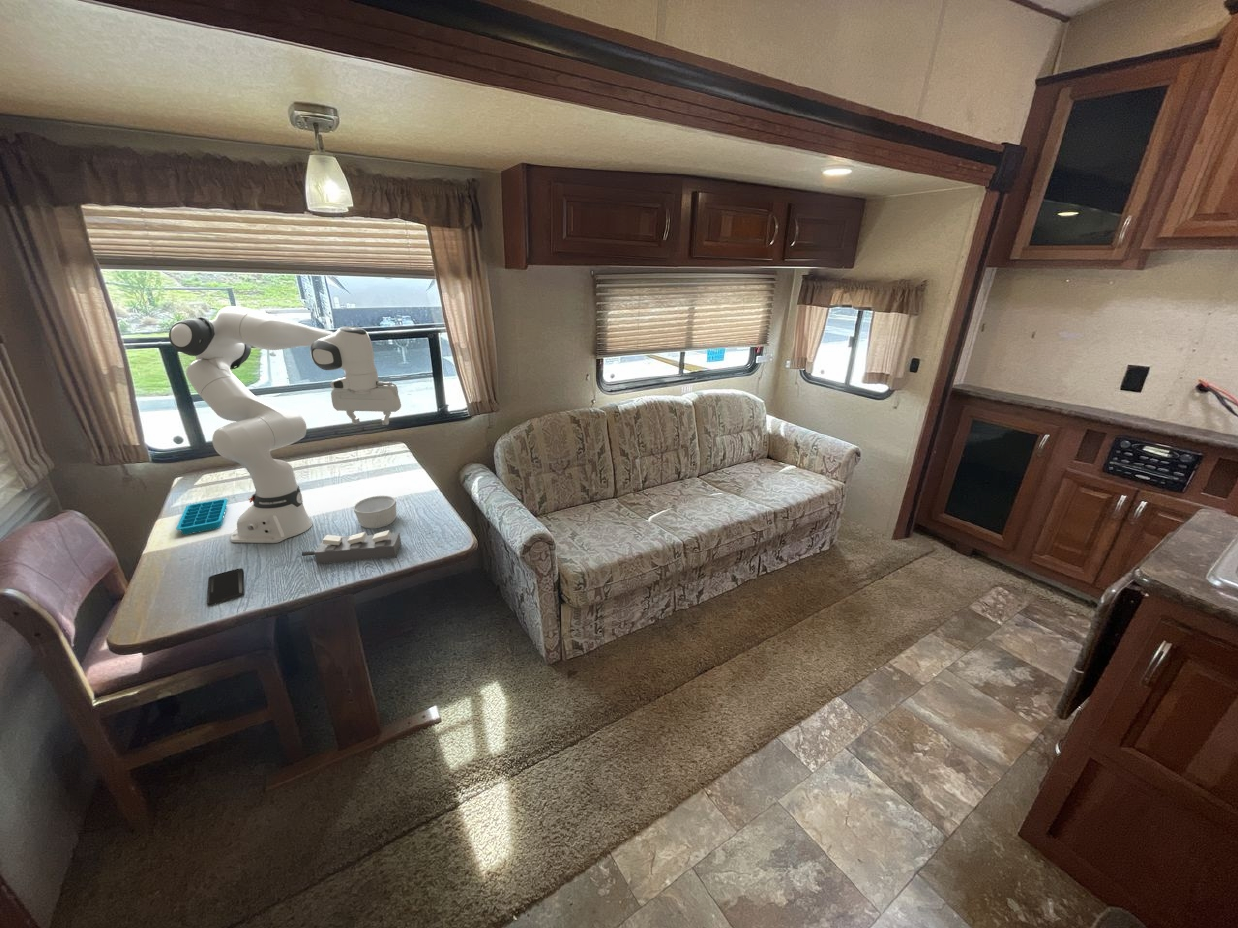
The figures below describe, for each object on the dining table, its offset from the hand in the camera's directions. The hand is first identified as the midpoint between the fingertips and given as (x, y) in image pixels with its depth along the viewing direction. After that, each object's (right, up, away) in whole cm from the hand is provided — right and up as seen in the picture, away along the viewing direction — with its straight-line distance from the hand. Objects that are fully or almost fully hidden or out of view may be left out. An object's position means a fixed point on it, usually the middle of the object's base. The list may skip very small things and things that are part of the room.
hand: (371, 423), depth 154 cm
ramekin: (-5, -33, +14) cm, 36 cm away
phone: (-29, -47, -21) cm, 59 cm away
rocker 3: (+6, -35, -6) cm, 36 cm away
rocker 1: (-7, -36, -8) cm, 38 cm away
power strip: (-3, -41, -5) cm, 41 cm away
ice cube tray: (-64, -33, +13) cm, 73 cm away
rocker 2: (-1, -36, -7) cm, 36 cm away
